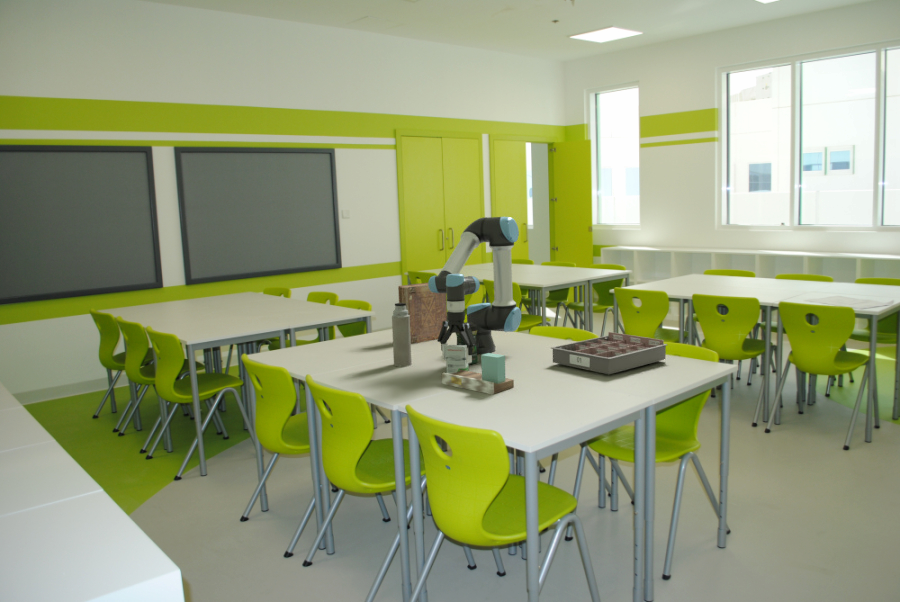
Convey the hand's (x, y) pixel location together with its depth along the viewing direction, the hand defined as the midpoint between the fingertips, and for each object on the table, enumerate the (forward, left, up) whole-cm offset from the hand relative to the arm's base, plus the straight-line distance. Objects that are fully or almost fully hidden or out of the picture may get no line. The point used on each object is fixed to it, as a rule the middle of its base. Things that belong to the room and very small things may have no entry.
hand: (456, 360), depth 279 cm
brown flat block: (+20, -10, -5) cm, 23 cm away
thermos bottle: (-31, -3, -6) cm, 32 cm away
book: (-66, +45, -6) cm, 80 cm away
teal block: (+28, -10, -2) cm, 30 cm away
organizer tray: (+42, +52, -6) cm, 67 cm away
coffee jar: (-9, +16, -6) cm, 19 cm away
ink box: (0, 0, -6) cm, 6 cm away
